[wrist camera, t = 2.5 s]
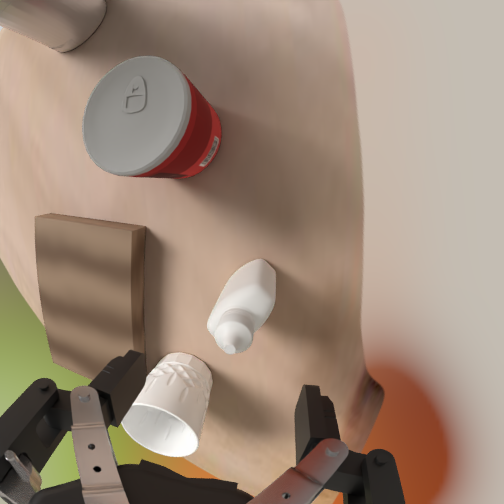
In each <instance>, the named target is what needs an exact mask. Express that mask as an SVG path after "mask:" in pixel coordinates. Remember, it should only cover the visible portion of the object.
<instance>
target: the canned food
mask: <svg viewBox="0 0 504 504" xmlns="http://www.w3.org/2000/svg"><path fill="white" fill-rule="evenodd" d="M82 132H83V141H84V144H85V147H86V150H87V152H88V154H89V156H90V158H91V159H92V160H93V162H94V163H95V164H96V165H97V166H98V167H100V168H101V169H103V170H104V171H106V172H109V173H112V174H115V175H118V176H129V177H151V178H176V179H179V178H187V177H191V176H194V175H195V174H197V173H199V172H201V171H202V170H203V169H205V168H206V167H207V166H208V165H209V164H210V163H211V161H212V160H213V159H214V157H215V155H216V154H217V152H218V149H219V146H220V142H221V124H220V120H219V118H218V116H217V113H216V112H215V111H214V109H213V108H212V107H211V106H210V104H209V103H208V102H207V101H206V99H205V98H204V97H203V96H202V95H201V93H200V92H199V91H198V90H197V89H196V88H195V86H194V85H193V84H192V83H191V82H190V80H189V79H188V78H187V77H186V76H185V75H184V74H183V73H182V72H181V71H180V70H179V69H178V68H177V67H176V66H175V65H173V64H172V63H170V62H169V61H167V60H165V59H163V58H160V57H156V56H138V57H134V58H131V59H128V60H126V61H124V62H122V63H120V64H118V65H117V66H115V67H114V68H113V69H111V70H110V71H109V72H108V73H107V74H106V75H105V76H104V77H103V78H102V79H101V80H100V81H99V83H98V84H97V85H96V87H95V88H94V90H93V92H92V93H91V95H90V97H89V100H88V102H87V105H86V107H85V112H84V116H83V125H82Z"/></svg>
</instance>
